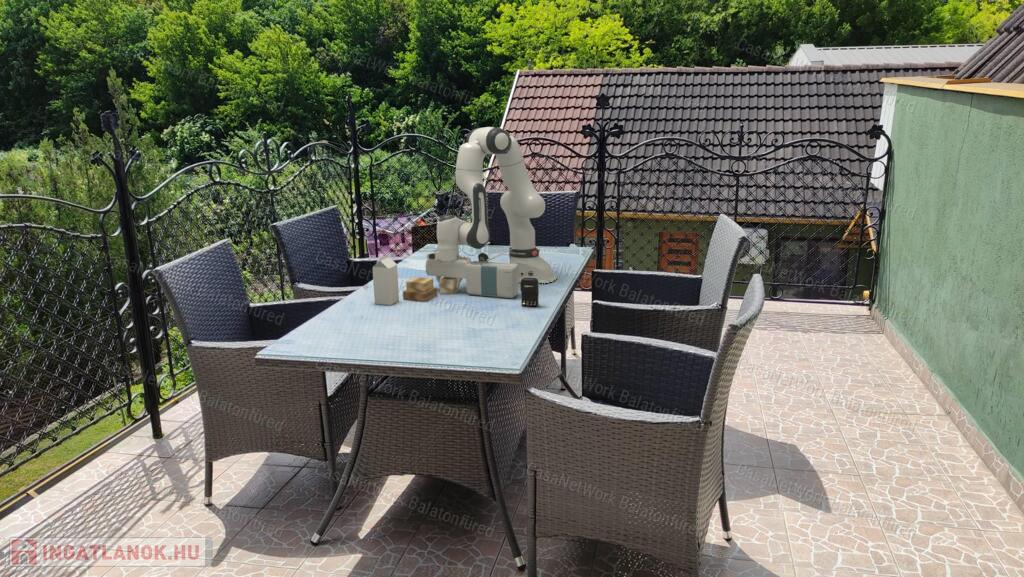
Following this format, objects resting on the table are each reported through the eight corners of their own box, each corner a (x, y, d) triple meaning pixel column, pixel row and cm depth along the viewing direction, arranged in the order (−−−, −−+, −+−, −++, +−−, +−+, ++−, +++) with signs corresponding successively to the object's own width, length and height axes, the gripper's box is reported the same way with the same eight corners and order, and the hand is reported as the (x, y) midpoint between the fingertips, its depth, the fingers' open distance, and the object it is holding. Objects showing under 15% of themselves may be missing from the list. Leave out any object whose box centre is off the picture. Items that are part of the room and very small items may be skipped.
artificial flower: (492, 268, 336) (495, 250, 331) (462, 283, 320) (464, 264, 315) (478, 261, 340) (481, 243, 335) (448, 275, 324) (450, 257, 319)
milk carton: (399, 301, 276) (396, 254, 271) (390, 305, 270) (387, 258, 265) (383, 299, 278) (380, 253, 274) (374, 304, 272) (371, 257, 267)
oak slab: (433, 287, 282) (433, 278, 281) (424, 292, 274) (423, 283, 273) (416, 286, 284) (415, 276, 283) (406, 291, 277) (406, 281, 276)
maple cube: (459, 291, 290) (458, 277, 289) (452, 294, 285) (452, 280, 283) (446, 289, 292) (446, 276, 291) (439, 293, 287) (439, 279, 285)
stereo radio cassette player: (465, 295, 283) (464, 248, 278) (473, 290, 291) (472, 244, 285) (513, 300, 276) (512, 251, 271) (520, 295, 284) (519, 247, 278)
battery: (519, 307, 266) (519, 278, 263) (522, 304, 270) (521, 276, 267) (537, 308, 264) (537, 279, 261) (539, 305, 268) (539, 276, 265)
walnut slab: (437, 297, 283) (436, 287, 282) (425, 303, 274) (424, 293, 273) (416, 294, 287) (415, 285, 286) (403, 301, 278) (402, 291, 277)
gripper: (474, 255, 283) (475, 287, 287) (430, 251, 291) (431, 283, 295) (467, 258, 278) (468, 291, 281) (423, 254, 285) (424, 286, 289)
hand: (449, 287), depth 288 cm, fingers closed on maple cube, 6 cm apart
